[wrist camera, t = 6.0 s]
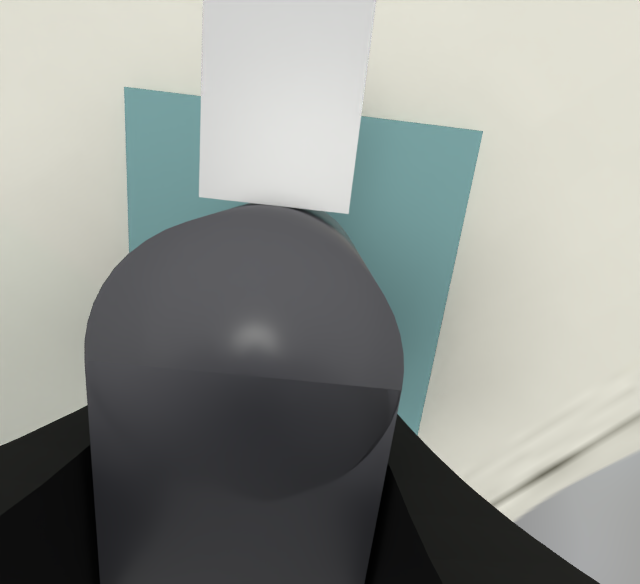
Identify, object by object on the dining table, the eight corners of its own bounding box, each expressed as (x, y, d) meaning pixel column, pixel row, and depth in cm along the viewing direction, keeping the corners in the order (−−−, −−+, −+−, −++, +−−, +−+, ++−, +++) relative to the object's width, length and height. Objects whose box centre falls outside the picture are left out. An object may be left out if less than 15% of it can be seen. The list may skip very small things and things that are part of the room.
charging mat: (404, 478, 19) (406, 484, 18) (139, 455, 18) (135, 461, 18) (478, 132, 14) (483, 131, 14) (129, 89, 14) (124, 86, 13)
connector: (323, 529, 12) (328, 766, 7) (196, 519, 12) (112, 754, 7) (391, 68, 8) (494, -91, 3) (207, 45, 8) (47, -158, 3)
